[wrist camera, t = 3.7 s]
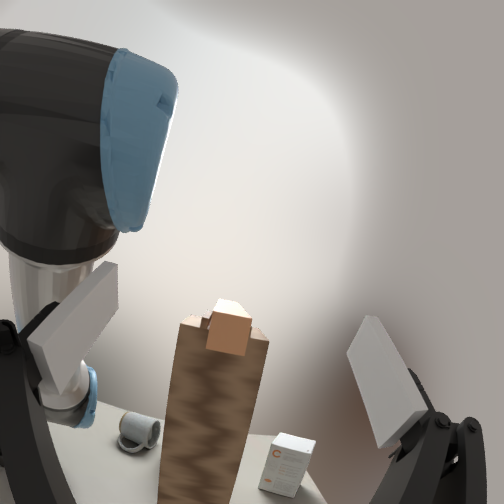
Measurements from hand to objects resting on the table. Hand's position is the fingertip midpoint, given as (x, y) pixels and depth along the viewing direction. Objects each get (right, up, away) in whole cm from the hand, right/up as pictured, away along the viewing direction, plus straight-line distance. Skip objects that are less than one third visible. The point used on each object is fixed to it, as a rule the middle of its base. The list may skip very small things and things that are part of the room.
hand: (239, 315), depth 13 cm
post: (-10, -41, +16) cm, 45 cm away
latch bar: (-3, -6, +18) cm, 19 cm away
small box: (+6, -47, +29) cm, 55 cm away
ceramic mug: (-26, -41, +34) cm, 60 cm away
